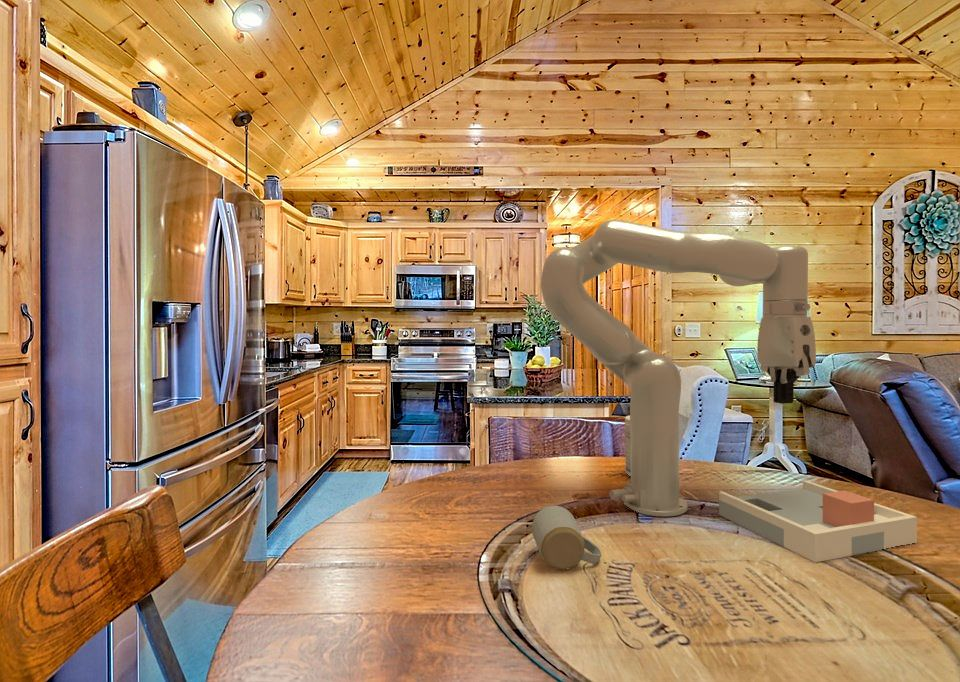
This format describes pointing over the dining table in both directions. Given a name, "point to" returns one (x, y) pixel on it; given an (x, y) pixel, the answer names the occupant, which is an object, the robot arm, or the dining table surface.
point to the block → (846, 508)
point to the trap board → (816, 523)
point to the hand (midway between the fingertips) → (783, 402)
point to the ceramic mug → (561, 539)
